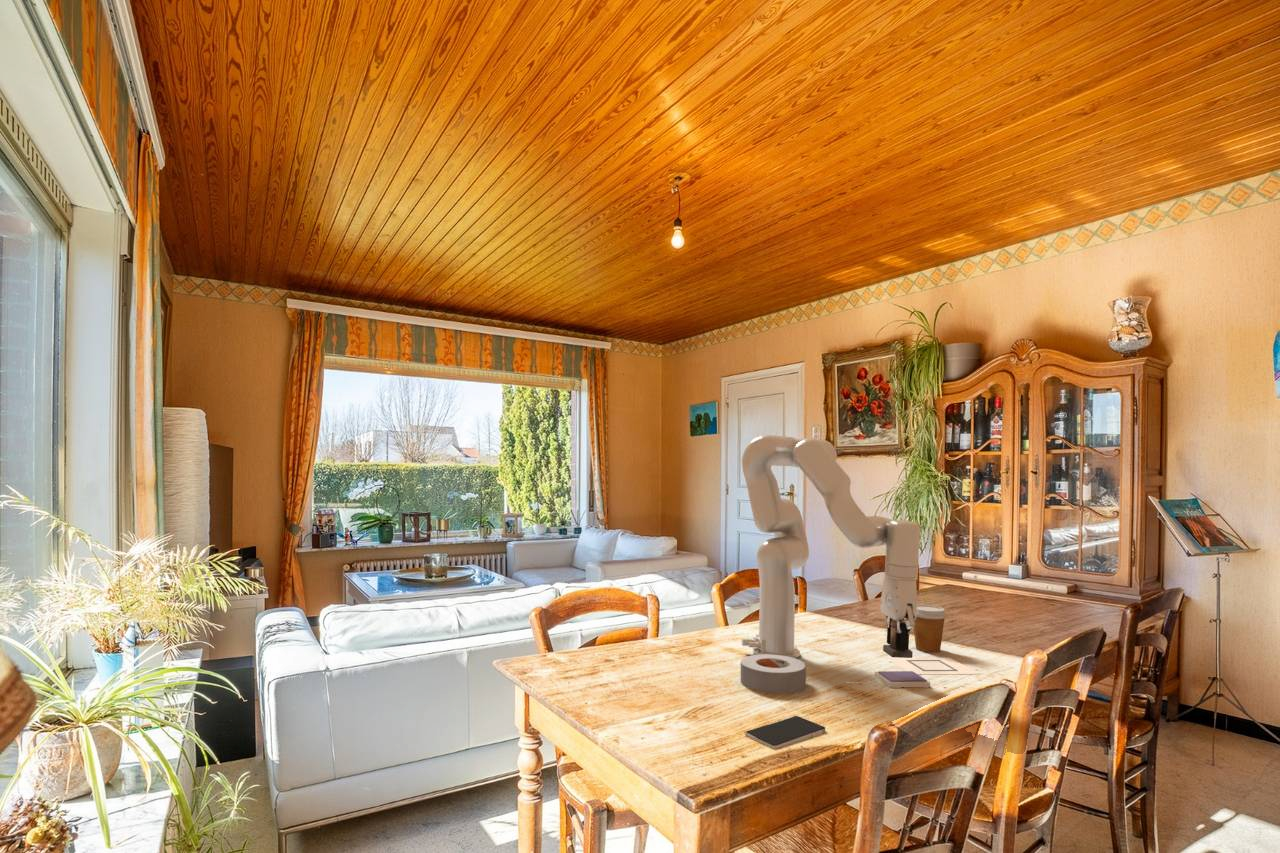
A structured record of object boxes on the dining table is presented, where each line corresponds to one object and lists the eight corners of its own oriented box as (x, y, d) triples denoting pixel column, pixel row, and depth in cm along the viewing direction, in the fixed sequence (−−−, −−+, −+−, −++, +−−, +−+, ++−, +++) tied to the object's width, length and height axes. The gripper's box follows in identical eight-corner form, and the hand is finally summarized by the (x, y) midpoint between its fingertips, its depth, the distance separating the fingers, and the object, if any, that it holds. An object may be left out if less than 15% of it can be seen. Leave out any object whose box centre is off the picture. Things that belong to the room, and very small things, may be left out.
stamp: (892, 657, 165) (894, 619, 165) (883, 650, 170) (885, 613, 170) (912, 657, 165) (914, 620, 166) (902, 651, 170) (904, 614, 170)
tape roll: (726, 681, 165) (727, 660, 165) (768, 670, 174) (768, 650, 175) (778, 700, 153) (778, 676, 153) (819, 686, 163) (819, 664, 163)
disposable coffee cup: (952, 655, 190) (952, 612, 191) (917, 654, 191) (917, 611, 191) (937, 646, 200) (938, 604, 201) (904, 645, 200) (905, 604, 201)
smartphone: (743, 731, 132) (795, 714, 141) (743, 738, 132) (795, 720, 141) (774, 746, 126) (827, 727, 135) (774, 753, 126) (827, 734, 135)
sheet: (911, 675, 172) (911, 673, 172) (886, 659, 186) (886, 657, 186) (979, 674, 174) (979, 673, 174) (949, 658, 188) (949, 657, 188)
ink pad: (889, 687, 162) (889, 681, 162) (874, 676, 170) (874, 670, 170) (930, 687, 163) (930, 681, 163) (913, 676, 171) (913, 670, 171)
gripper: (871, 564, 176) (868, 636, 176) (902, 577, 159) (898, 657, 159) (900, 565, 177) (896, 637, 176) (933, 579, 160) (929, 658, 160)
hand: (897, 646), depth 168 cm, fingers closed on stamp, 3 cm apart
